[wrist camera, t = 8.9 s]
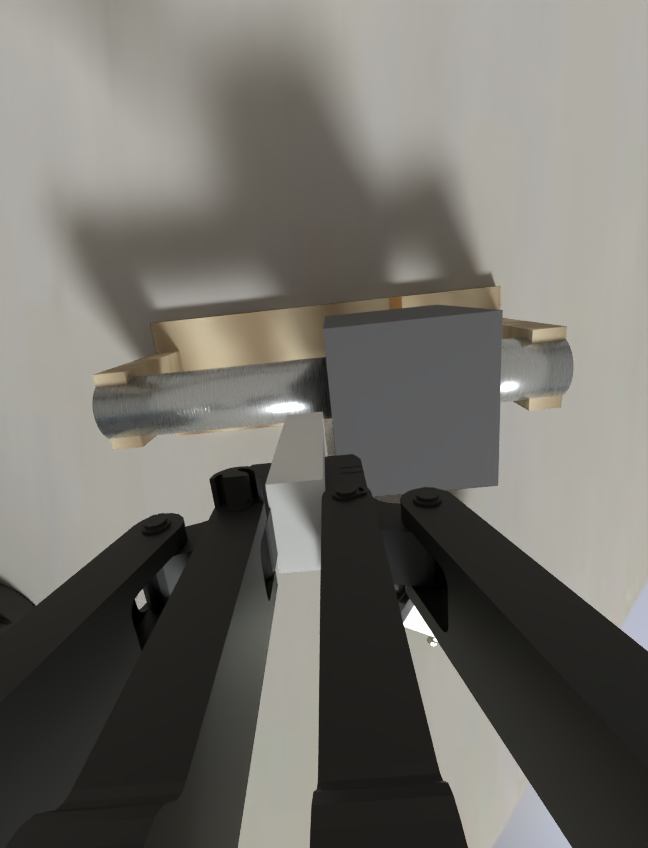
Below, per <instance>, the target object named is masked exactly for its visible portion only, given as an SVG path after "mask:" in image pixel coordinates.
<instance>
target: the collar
mask: <svg viewBox="0 0 648 848" xmlns="http://www.w3.org/2000/svg"><path fill="white" fill-rule="evenodd" d="M502 311H503V310H495V309H483V308H472V307H460V306H449V305H428V306H418V307H409V308H399V309H390V310H380V311H371V312H361V313H352V314H343V315H333V316H325V320H324V326H323V334H324V343H325V353H326V363H327V373H328V383H329V393H330V403H331V412H332V422H333V432H334V442H335V452H336V456H337V455H348V454H354V455H356V456H357V457H359V458H360V459H361V462H362V467H363V471H364V475H365V479H366V484H367V488H369V489H370V491H371V493H372V497H374V496H386V495H397V494H405V493H406V492H407V491H410V490H413V489H417V488H422V487H429V488H430V487H434V488H437V489H441V490H454V489H466V488H477V487H488V486H498V465H499V426H500V388H501V349H502Z"/></svg>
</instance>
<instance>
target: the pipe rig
mask: <svg viewBox="0 0 648 848" xmlns="http://www.w3.org/2000/svg"><path fill="white" fill-rule="evenodd" d="M500 289H501V286H493V287H484V288H474V289H465V290H456V291H446V292H437V293H428V294H418V295H409V296H400V297H390V298H381V299H372V300H362V301H353V302H344V303H334V304H325V305H316V306H306V307H297V308H288V309H278V310H269V311H260V312H250V313H241V314H231V315H222V316H213V317H203V318H194V319H185V320H175V321H166V322H157V323H150V326H151V330H152V335H153V339H154V344H155V348H156V354H153V355H150V356H147V357H144V358H141V359H139V360H136V361H133V362H130V363H127V364H124V365H121V366H118V367H115V368H112V369H109V370H106V371H103V372H100V373H97V374H94V375H93V378H94V382H95V386H96V387H102V386H112V385H122V384H127V383H128V381H129V380H130V379H131V378H132V377H134V376H142V375H152V374H162V373H172V372H182V371H191V370H201V369H211V368H221V367H231V366H241V365H250V364H260V363H270V362H280V361H290V360H299V359H309V358H319V357H326V353H325V343H324V334H323V326H324V320H325V316H333V315H343V314H352V313H361V312H371V311H380V310H390V309H399V308H409V307H418V306H428V305H449V306H460V307H472V308H483V309H495V310H500ZM566 332H567V326H559V325H551V324H544V323H536V322H529V321H521V320H514V319H506V318H502V339H506V338H515V337H526V338H528V339H529V340H530V341H531V342H532V343H537V342H547V341H557V340H566ZM561 401H562V396H552V397H542V398H532V399H528V400H520V401H513V402H515V403H517V404H518V405H520V406H522V407H524V408H525V409H527V410H539V409H550V408H560V407H561ZM325 421H332V418H331V419H324V422H325ZM283 425H284V423H279V424H269V425H258V426H248V427H237V428H227V429H216V430H206V431H196V432H185V433H175V436H179V435H189V434H200V433H210V432H221V431H231V430H242V429H252V428H262V427H273V426H283ZM156 436H157V435H154V436H135V437H124V438H114V439H110V440H111V444H112V448H113V450H116V449H127V448H137V447H143V446H145V445H146V444H147V443H148V442H149V441H151V440H152V439H153V438H154V437H156Z"/></svg>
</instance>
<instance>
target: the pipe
mask: <svg viewBox="0 0 648 848" xmlns="http://www.w3.org/2000/svg"><path fill="white" fill-rule="evenodd" d="M572 376H573V357H572V352H571V349H570V346H569V344H568V342H567V340H557V341H547V342H537V343H532V342H531V341H530V340H529V339H528V338H526V337H515V338H506V339H502V349H501V388H500V402H509V401H520V400H528V399H532V398H542V397H552V396H562V395H563V394H565V393H566V391H567V390H568V388H569V386H570V384H571V381H572ZM314 412H323V418H324V419H331V418H332V412H331V403H330V393H329V383H328V373H327V363H326V357H319V358H309V359H299V360H290V361H280V362H270V363H260V364H250V365H241V366H231V367H221V368H211V369H201V370H191V371H182V372H172V373H162V374H152V375H142V376H134V377H132V378H131V379H130V380H129V381H128V383H127V384H122V385H112V386H102V387H96V388H95V391H94V394H93V413H94V417H95V421H96V423H97V426H98V428H99V429H100V431H101V432H102V433H103V435H105V436H106V437H107V438H109V439H114V438H124V437H135V436H154V435H164V434H175V433H185V432H196V431H206V430H216V429H227V428H237V427H248V426H258V425H269V424H279V423H284V422H285V419H286V416H287V415H294V414H304V413H314Z"/></svg>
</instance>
